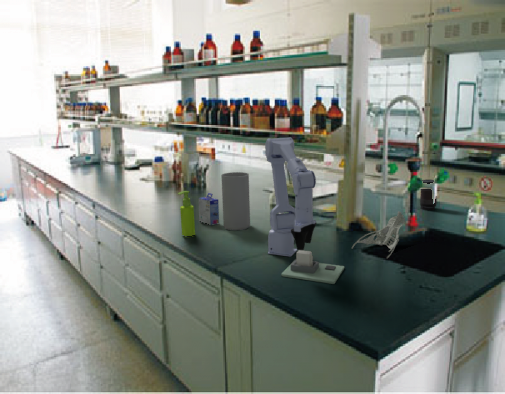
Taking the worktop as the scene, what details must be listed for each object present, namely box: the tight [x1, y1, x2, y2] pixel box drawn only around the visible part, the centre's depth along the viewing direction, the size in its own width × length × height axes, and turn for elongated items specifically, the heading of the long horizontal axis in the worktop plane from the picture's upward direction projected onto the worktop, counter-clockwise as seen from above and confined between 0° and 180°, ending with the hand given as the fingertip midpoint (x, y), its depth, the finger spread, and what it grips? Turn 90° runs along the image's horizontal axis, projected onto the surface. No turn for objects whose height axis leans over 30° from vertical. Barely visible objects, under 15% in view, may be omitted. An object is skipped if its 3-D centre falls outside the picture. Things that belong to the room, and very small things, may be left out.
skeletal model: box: [351, 211, 406, 259], centre depth 170 cm, size 16×9×25 cm
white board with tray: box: [280, 259, 345, 285], centre depth 147 cm, size 18×14×3 cm
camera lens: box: [419, 179, 437, 211], centre depth 224 cm, size 8×8×15 cm
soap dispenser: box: [177, 190, 196, 237], centre depth 190 cm, size 6×7×20 cm
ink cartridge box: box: [198, 192, 220, 226], centre depth 210 cm, size 10×6×14 cm, turn 41°
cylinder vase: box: [220, 171, 251, 231], centre depth 200 cm, size 12×12×25 cm
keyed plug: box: [295, 250, 314, 267], centre depth 148 cm, size 5×3×6 cm, turn 65°
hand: (304, 246), depth 147 cm, fingers open, 7 cm apart
